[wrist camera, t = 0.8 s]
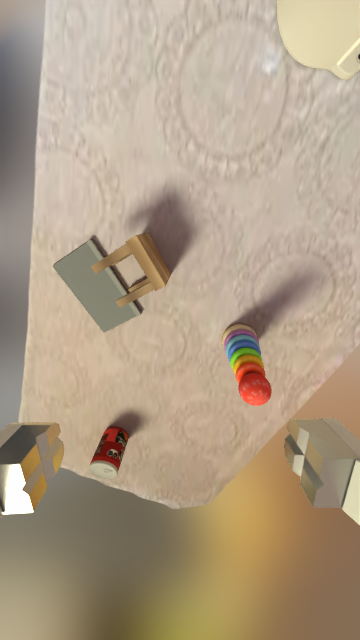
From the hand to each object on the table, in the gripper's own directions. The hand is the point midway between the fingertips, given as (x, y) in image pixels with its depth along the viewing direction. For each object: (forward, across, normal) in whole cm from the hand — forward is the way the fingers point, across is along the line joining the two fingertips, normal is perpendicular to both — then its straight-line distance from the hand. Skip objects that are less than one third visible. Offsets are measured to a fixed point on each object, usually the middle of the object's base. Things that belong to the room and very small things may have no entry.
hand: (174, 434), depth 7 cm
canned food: (+48, +20, +47) cm, 70 cm away
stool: (+38, +7, -6) cm, 39 cm away
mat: (+40, +17, 0) cm, 43 cm away
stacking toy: (+39, -14, +11) cm, 43 cm away
